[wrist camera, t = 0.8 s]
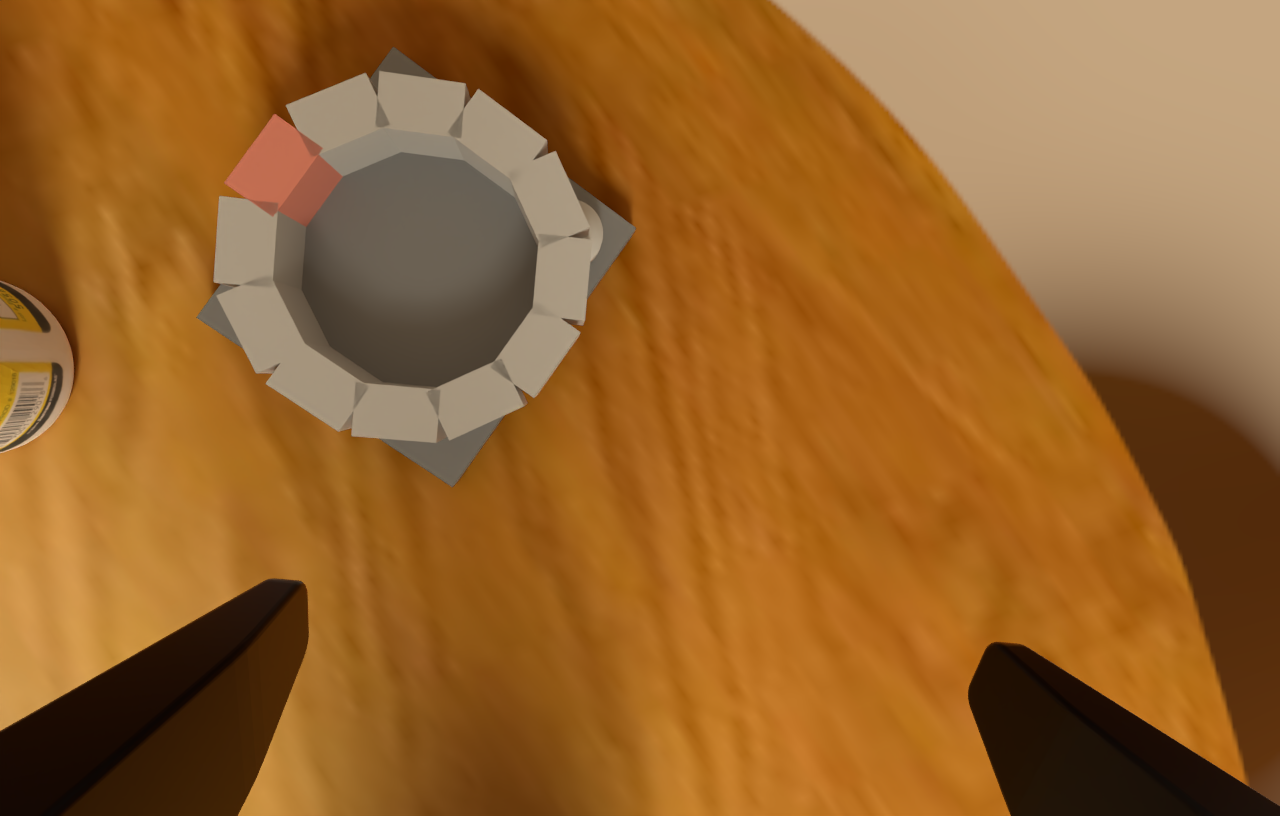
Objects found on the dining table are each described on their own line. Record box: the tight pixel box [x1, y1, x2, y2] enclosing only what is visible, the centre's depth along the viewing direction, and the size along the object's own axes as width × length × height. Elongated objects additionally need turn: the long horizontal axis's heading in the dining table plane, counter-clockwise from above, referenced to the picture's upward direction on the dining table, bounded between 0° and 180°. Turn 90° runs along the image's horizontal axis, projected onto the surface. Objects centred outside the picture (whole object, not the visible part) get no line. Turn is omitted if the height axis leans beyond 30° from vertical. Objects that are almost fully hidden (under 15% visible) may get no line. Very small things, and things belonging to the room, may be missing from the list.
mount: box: [196, 47, 636, 487], centre depth 20 cm, size 10×10×3 cm
